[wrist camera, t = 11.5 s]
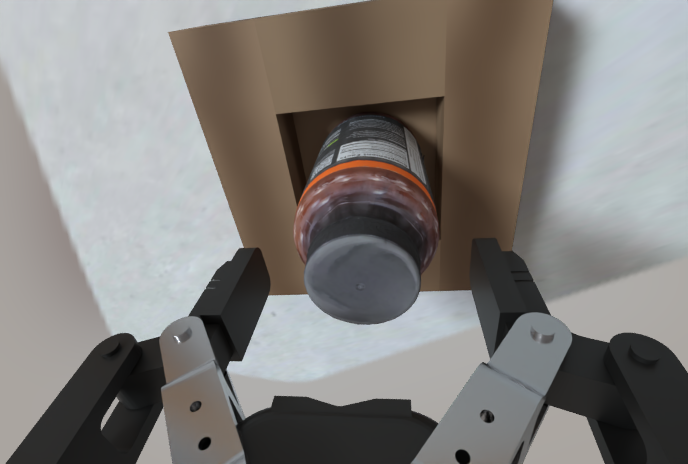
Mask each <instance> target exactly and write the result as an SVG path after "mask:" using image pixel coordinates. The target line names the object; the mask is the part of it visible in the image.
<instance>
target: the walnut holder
mask: <svg viewBox="0 0 688 464" xmlns="http://www.w3.org/2000/svg"><path fill="white" fill-rule="evenodd" d="M552 5H553V0H370V1H364V2H357V3H350V4H344V5H337V6H331V7H324V8H318V9H311V10H304V11H298V12H291V13H285V14H278V15H271V16H265V17H258V18H252V19H245V20H239V21H232V22H225V23H219V24H212V25H206V26H200V27H195V28H189V29H183V30H178V31H172V32H168V33H169V36H170V39H171V42H172V45H173V47H174V50H175V53H176V56H177V59H178V62H179V64H180V67H181V70H182V73H183V76H184V79H185V82H186V84H187V87H188V90H189V93H190V96H191V99H192V101H193V104H194V107H195V110H196V113H197V116H198V118H199V121H200V124H201V127H202V130H203V133H204V136H205V138H206V141H207V144H208V147H209V150H210V153H211V155H212V158H213V161H214V164H215V167H216V170H217V172H218V175H219V178H220V181H221V184H222V187H223V190H224V192H225V195H226V198H227V201H228V204H229V207H230V209H231V212H232V215H233V218H234V221H235V224H236V226H237V229H238V232H239V235H240V238H241V241H242V243H243V246H244V248H256V247H258V248H260V249H261V251H262V254H263V257H264V260H265V263H266V267H267V270H268V273H269V276H270V281H271V287H270V292H269V295H300V294H308V293H307V291H306V287H305V285H304V270H305V265H304V263H303V262H302V260H301V258H300V257H299V254H298V252H297V249H296V245H295V241H294V235H293V228H294V219H295V213H296V210H297V207H298V204H299V202H300V199H301V196H302V194H303V191H304V189H305V186H306V184H307V182H308V179H309V177H310V174H311V172H312V169H313V167H314V164H315V162H316V160H317V157H318V155H319V152H320V150H321V148H322V145H323V143H324V141H325V139H326V138H327V136H328V135H329V133H330V132H331V131H332V129H333V128H334V127H335V126H336V125H338V124H339V123H340V122H341V121H343V120H344V119H346V118H348V117H350V116H352V115H354V114H358V113H363V112H379V113H384V114H388V115H391V116H393V117H395V118H397V119H399V120H400V121H402V122H403V123H404V124H405V125H406V126H407V127H408V128H409V129H410V130H411V131H412V133H413V134H414V136H415V137H416V140H417V142H418V144H419V146H420V148H421V153H422V156H423V155H424V164H425V168H426V173H427V176H428V179H429V184H430V189H431V191H432V196H433V201H434V204H435V206H436V213H437V218H438V222H439V233H440V234H439V242H438V247H437V250H436V253H435V256H434V257H433V259H432V261H431V263H430V265H429V266H428V268H427V269H426V271H424V272H423V273H422V275H421V288H420V291H454V290H471V286H470V276H469V272H470V259H471V247H472V240H473V238H493V237H495V238H496V239H497V241H498V243H499V246H500V248H501V250H502V251H512V246H513V240H514V234H515V228H516V222H517V216H518V210H519V203H520V197H521V191H522V185H523V179H524V173H525V167H526V161H527V155H528V149H529V143H530V137H531V131H532V125H533V119H534V113H535V107H536V101H537V95H538V89H539V83H540V77H541V71H542V65H543V59H544V53H545V47H546V41H547V35H548V29H549V23H550V17H551V11H552Z"/></svg>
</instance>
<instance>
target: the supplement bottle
mask: <svg viewBox="0 0 688 464" xmlns="http://www.w3.org/2000/svg"><path fill="white" fill-rule="evenodd" d="M439 234H440V233H439V222H438V218H437V213H436V206H435V204H434V201H433V196H432V191H431V189H430V184H429V179H428V176H427V173H426V168H425V164H424V155H423V156H422V153H421V148H420V146H419V144H418V142H417V140H416V137H415V136H414V134H413V133H412V131H411V130H410V129H409V128H408V127H407V126H406V125H405V124H404V123H403V122H402V121H400V120H399V119H397V118H395V117H393V116H391V115H388V114H384V113H379V112H363V113H358V114H354V115H352V116H350V117H348V118H346V119H344V120H343V121H341V122H340V123H339V124H338V125H336V126H335V127H334V128H333V129H332V131H331V132H330V133H329V135H328V136H327V138H326V139H325V141H324V143H323V145H322V148H321V150H320V152H319V155H318V157H317V160H316V162H315V164H314V167H313V169H312V172H311V174H310V177H309V179H308V182H307V184H306V186H305V189H304V191H303V194H302V196H301V199H300V202H299V204H298V207H297V210H296V213H295V219H294V228H293V235H294V241H295V245H296V249H297V252H298V254H299V257H300V258H301V260H302V262H303V263H304V265H305V270H304V285H305V287H306V291H307V293H308V295H309V297H310V298H311V300H312V301H313V302H314V303H315V304H316V306H318V307H319V308H320V309H321V310H322V311H323V312H325V313H327V314H328V315H330V316H332V317H333V318H336V319H339V320H342V321H345V322H349V323H355V324H367V325H370V324H379V323H384V322H387V321H390V320H392V319H395V318H397V317H398V316H400V315H402V314H403V313H405V312H406V311H407V310H408V309H409V308H410V307H411V306H412V305H413V304H414V302H415V301H416V299H417V297H418V294H419V292H420V288H421V275H422V273H423V272H424V271H426V269H427V268H428V266H429V265H430V263H431V261H432V259H433V257H434V256H435V253H436V250H437V247H438V242H439Z"/></svg>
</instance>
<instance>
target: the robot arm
mask: <svg viewBox="0 0 688 464" xmlns="http://www.w3.org/2000/svg"><path fill="white" fill-rule="evenodd" d="M469 276H470V286H471V290H472V294H473V298H474V301H475V305H476V309H477V312H478V316H479V320H480V323H481V327H482V331H483V334H484V338H485V341H486V345H487V349H488V353H489V356H490V361H489V362H488V363H487V364H486V363H484V362H483V363H481V364H480V365H479V366H478V367H477V368H476V370H475V371H474V373H473V374H472V376H471V377H470V379H469V380H468V382H467V383H466V384H465V386H464V387H463V389H462V390H461V392H460V393H459V395H458V396H457V398H456V399H455V400H454V402H453V404H452V405H451V406H450V408H449V409H448V411H447V412H446V414H445V415H444V417H443V418H442V420H441V421H440V422H439V424H438V423H437V422H436V421H434V420H432V419H431V418H428V417H427V416H425V415H422V414H420V413H417V412H414V411H411V400H403V399H402V400H401V399H372V400H368V401H363V402H359V403H355V404H350V405H346V406H334V405H331V404H328V403H325V402H321V401H318V400H315V399H312V398H309V397H293V396H274V399H273V402H272V406H271V407H270V408H266V409H264V410H261V411H258V412H256V413H254V414H252V415H251V416H249V417H247V418H245V416H244V414H243V411H242V408H241V406H240V403H239V400H238V397H237V394H236V392H235V389H234V386H233V384H232V381H231V378H230V375H229V373H228V371H227V366H228V364H229V362H230V361H242V360H243V357H244V355H245V352H246V350H247V347H248V345H249V342H250V340H251V337H252V335H253V332H254V330H255V327H256V325H257V322H258V320H259V317H260V315H261V312H262V310H263V307H264V305H265V302H266V300H267V297H268V295H269V292H270V287H271V281H270V276H269V273H268V270H267V267H266V263H265V260H264V257H263V254H262V251H261V249H260V248H258V247H256V248H240V249H238V251H237V252H236V254H235V256H234V257H233V259H232V261H227V262H226V263H225V264H223V265H222V266H221V267H220V268H219V269H218V270H217V271H216V272H215V274H214V276H213V277H212V279H211V281H210V282H209V284H208V285H207V287H206V289H205V290H204V292H203V293H202V295H201V296H200V298H199V300H198V301H197V303H196V304H195V306H194V308H193V309H192V311H191V313H190V314H189V316H188V317H184V318H181V319H178V320H176V321H174V322H173V323H171V324H170V325H169V326H168V327H167V328H166V329H165V330H164V331H163V332H162V334H161V336H160V337H156V338H153V339H149V340H145V341H141V342H137V341H136V339H135V338H134V336H133V335H131V334H129V333H120V334H116V335H114V336H111V337H109V338H107V339H105V340H104V341H102V342H101V343H100V344H99V345H97V346H96V347H95V348H94V349H93V351H92V352H91V353H90V354H89V356H88V357H87V358H86V360H85V361H84V362H83V363H82V365H81V366H80V367H79V369H78V370H77V371H76V373H75V374H74V375H73V377H72V378H71V379H70V380H69V382H68V383H67V384H66V386H65V387H64V388H63V389H62V391H61V392H60V393H59V395H58V396H57V397H56V399H55V400H54V401H53V402H52V404H51V405H50V406H49V408H48V409H47V410H46V412H45V413H44V414H43V415H42V417H41V418H40V420H39V421H38V422H37V423H36V425H35V426H34V427H33V429H32V430H31V431H30V432H29V434H28V435H27V436H26V438H25V439H24V440H23V442H22V443H21V444H20V445H19V447H18V448H17V449H16V451H15V452H14V453H13V455H12V456H11V457H10V458H9V460H8V461H7V462H6V464H136V462H137V460H138V458H139V455H140V454H141V451H142V449H143V447H144V445H145V443H146V441H147V439H148V437H149V435H150V433H151V431H152V429H153V427H154V425H155V423H156V421H157V419H158V417H159V415H160V413H161V411H162V409H163V407H164V413H165V419H166V426H167V431H168V438H169V445H170V451H171V457H172V463H173V464H523V462H524V459H525V457H526V455H527V453H528V450H529V448H530V446H531V444H532V442H533V440H534V438H535V436H536V434H537V431H538V429H539V427H540V425H541V423H542V421H543V419H544V417H545V415H546V412H547V410H548V408H549V406H554V407H557V408H560V409H563V410H566V411H569V412H573V413H576V414H579V415H582V416H585V417H587V420H588V422H589V425H590V427H591V430H592V432H593V435H594V437H595V440H596V443H597V445H598V448H599V450H600V453H601V455H602V458H603V460H604V463H605V464H688V373H687V371H686V370H685V368H684V367H683V366H682V364H681V363H680V361H679V360H678V358H677V357H676V356H675V354H674V353H673V352H672V351H671V350H670V349H669V348H667V347H666V346H665V345H663V344H662V343H660V342H659V341H657V340H655V339H653V338H650V337H647V336H644V335H641V334H636V333H621V334H618V335H615V336H614V337H613V338H612V339H611V340H610V343H607V342H603V341H599V340H594V339H590V338H586V337H582V336H578V335H576V334H573V333H571V332H570V330H569V329H568V327H567V326H566V325H565V324H564V323H563V322H561V321H560V320H559V319H557V318H555V317H553V316H551V314H550V312H549V311H548V309H547V306H546V304H545V302H544V300H543V298H542V296H541V294H540V292H539V290H538V288H537V286H536V284H535V282H533V278H532V276H531V274H530V273H529V270H528V268H527V266H526V264H525V262H524V260H523V259H522V258H520V257H519V256H518V255H517V254H515V253H514V252H513V251H502V250H501V248H500V246H499V243H498V241H497V239H496V238H495V237H493V238H473V240H472V247H471V259H470V272H469ZM115 397H117V398H118V399H119V402H118V404H117V406H116V407H115V409H114V411H113V412H112V414H111V416H110V417H109V419H108V421H107V422H106V424H105V426H104V427H103V429H102V431H101V422H102V419H103V417H104V415H105V414H106V412H107V410H108V409H109V407H110V406H111V404H112V402H113V401H114V399H115Z"/></svg>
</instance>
